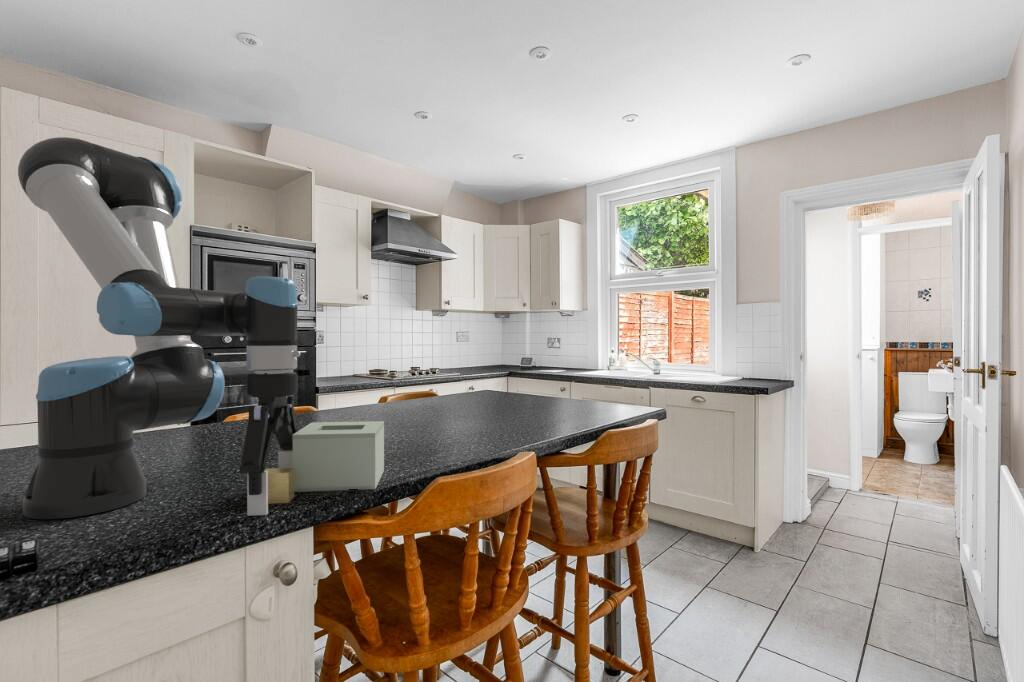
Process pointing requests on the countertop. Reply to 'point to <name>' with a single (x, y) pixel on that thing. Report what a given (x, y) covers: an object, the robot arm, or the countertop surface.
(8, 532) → the countertop surface
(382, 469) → the coin box
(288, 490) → the block
